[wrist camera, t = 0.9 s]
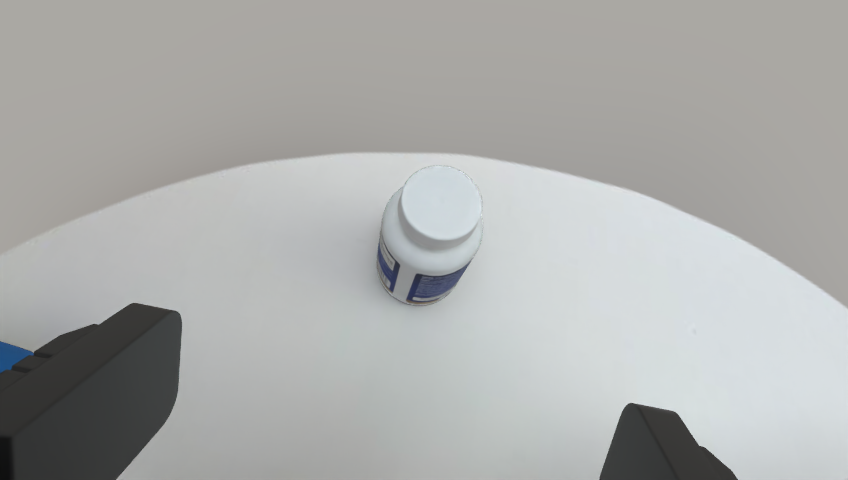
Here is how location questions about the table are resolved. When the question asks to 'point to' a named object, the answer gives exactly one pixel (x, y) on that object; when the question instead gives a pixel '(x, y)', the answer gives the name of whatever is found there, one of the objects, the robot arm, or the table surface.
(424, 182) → the pill bottle
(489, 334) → the table surface
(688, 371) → the table surface
